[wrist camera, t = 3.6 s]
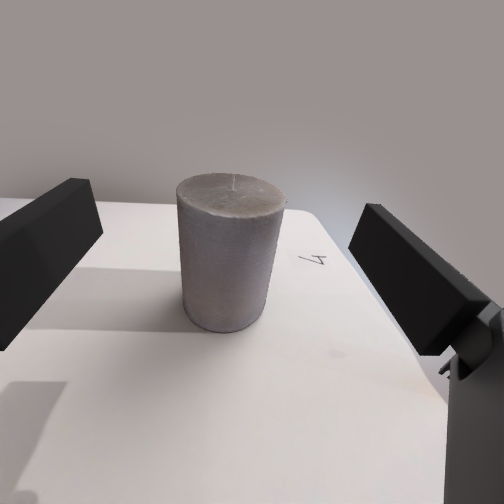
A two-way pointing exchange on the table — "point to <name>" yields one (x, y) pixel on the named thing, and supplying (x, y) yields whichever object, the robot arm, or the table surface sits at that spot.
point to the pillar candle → (227, 247)
